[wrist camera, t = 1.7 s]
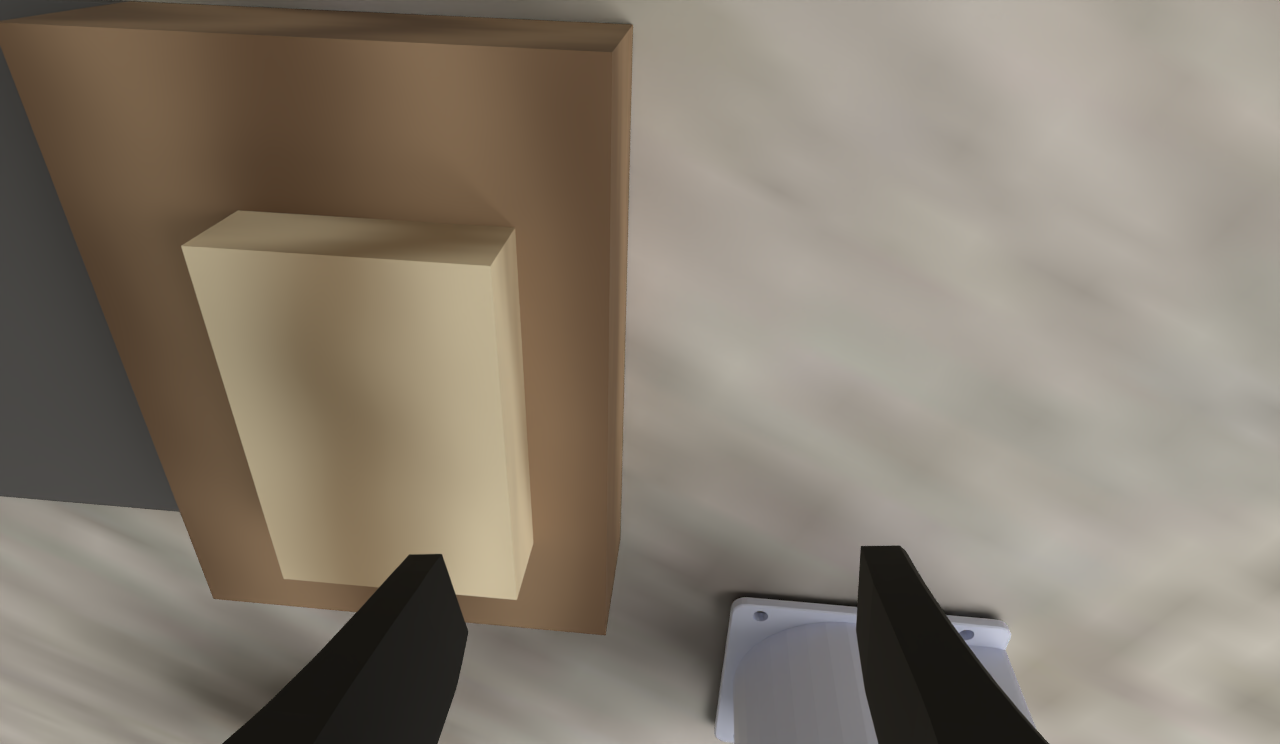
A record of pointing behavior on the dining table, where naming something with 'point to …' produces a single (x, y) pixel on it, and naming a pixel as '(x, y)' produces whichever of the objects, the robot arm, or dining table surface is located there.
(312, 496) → the birch tile
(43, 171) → the rubber mat
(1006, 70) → the dining table surface
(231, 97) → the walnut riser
